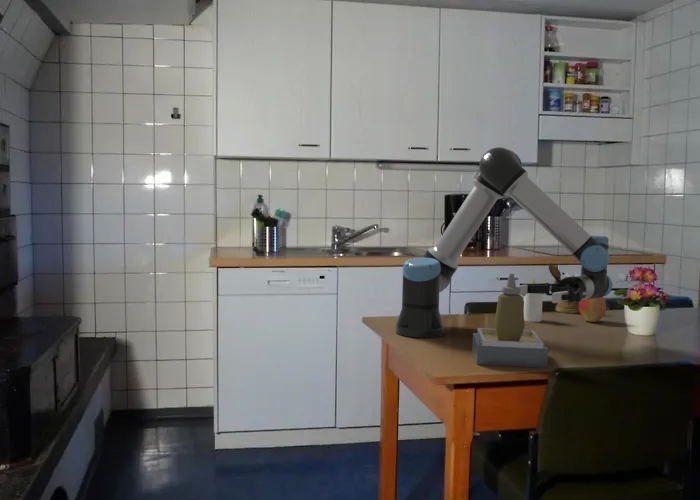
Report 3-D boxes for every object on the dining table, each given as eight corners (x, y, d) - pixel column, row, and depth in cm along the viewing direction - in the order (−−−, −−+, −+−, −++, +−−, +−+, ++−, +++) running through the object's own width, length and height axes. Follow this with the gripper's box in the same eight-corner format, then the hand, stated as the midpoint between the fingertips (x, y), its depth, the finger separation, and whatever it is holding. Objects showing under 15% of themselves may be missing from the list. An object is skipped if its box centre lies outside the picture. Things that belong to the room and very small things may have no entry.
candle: (544, 319, 243) (546, 278, 242) (538, 322, 238) (540, 280, 236) (526, 317, 246) (528, 276, 245) (520, 320, 241) (522, 278, 240)
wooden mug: (553, 307, 270) (555, 262, 269) (584, 312, 260) (587, 265, 259) (540, 309, 264) (543, 263, 263) (572, 314, 254) (575, 267, 253)
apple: (572, 320, 242) (573, 293, 241) (586, 317, 249) (587, 290, 248) (597, 325, 235) (599, 296, 234) (611, 322, 242) (612, 294, 241)
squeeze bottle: (524, 343, 181) (528, 276, 179) (493, 341, 182) (496, 275, 181) (523, 337, 189) (526, 272, 187) (493, 335, 190) (496, 271, 189)
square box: (476, 364, 179) (477, 340, 178) (472, 350, 195) (473, 327, 194) (546, 367, 177) (548, 343, 177) (536, 353, 193) (537, 330, 193)
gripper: (613, 307, 195) (570, 314, 181) (539, 295, 214) (496, 301, 201) (614, 281, 194) (572, 287, 181) (540, 271, 213) (497, 275, 200)
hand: (532, 294), depth 191 cm, fingers open, 13 cm apart
